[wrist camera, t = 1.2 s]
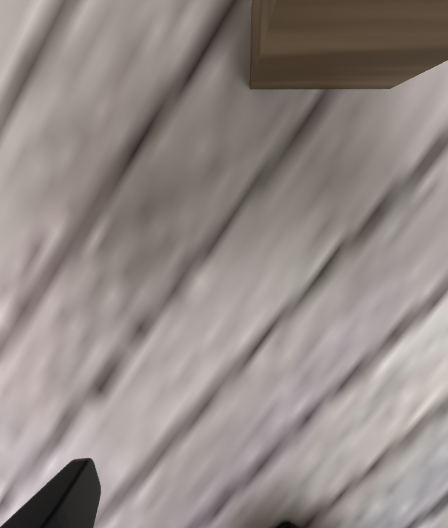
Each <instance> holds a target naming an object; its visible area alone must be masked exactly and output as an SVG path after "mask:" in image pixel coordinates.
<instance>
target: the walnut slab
mask: <svg viewBox="0 0 448 528" xmlns="http://www.w3.org/2000/svg"><path fill="white" fill-rule="evenodd" d="M447 60H448V0H253V1H252V7H251V63H250V89H391V88H393V87H395V86H397V85H399V84H401V83H403V82H405V81H407V80H409V79H411V78H413V77H415V76H417V75H419V74H421V73H423V72H425V71H427V70H429V69H431V68H433V67H435V66H437V65H439V64H441V63H443V62H445V61H447Z"/></svg>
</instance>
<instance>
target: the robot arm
mask: <svg viewBox="0 0 448 528" xmlns="http://www.w3.org/2000/svg"><path fill="white" fill-rule="evenodd" d="M100 495H101V486H100V482H99V478H98V475H97V471H96V468H95V464H94V462H93V460H92V459H91V458H82V459H75V460H72V461H71V462H70V463H68V464H67V465H66V466H65V467H64V468H63V469H62V470H61V471H60V472H59V473H58V474H57V475H56V476H55V477H53V478H52V479H51V480H50V481H49V482H48V483H47V484H46V485H45V486H44V487H43V488H42V489H41V490H40V491H38V492H37V493H36V494H35V495H34V496H33V497H32V498H31V499H30V500H29V501H28V502H27V503H26V504H24V505H23V506H22V507H21V508H20V509H19V510H18V511H17V512H16V513H15V514H14V515H13V516H12V517H11V518H9V519H8V520H7V521H6V522H5V523H4V524H3V525H2V526H1V527H0V528H93V526H94V522H95V518H96V513H97V509H98V505H99V500H100ZM277 528H297V527H296V526H294V525H293V524H291V523H289V522H285V523H283V524H281V525H280V526H279V527H277Z"/></svg>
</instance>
